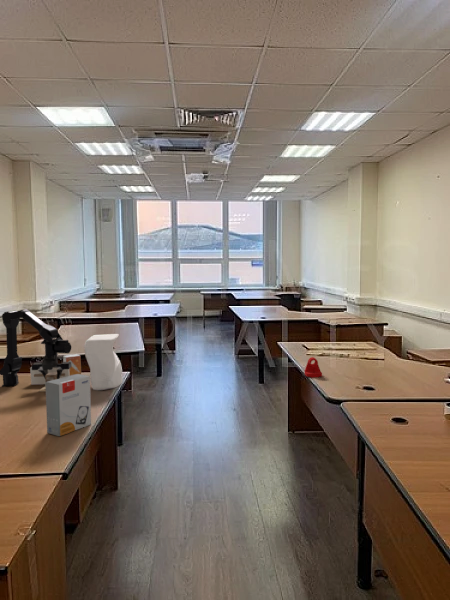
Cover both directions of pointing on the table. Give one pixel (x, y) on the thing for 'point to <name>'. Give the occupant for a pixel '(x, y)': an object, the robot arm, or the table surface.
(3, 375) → the robot arm
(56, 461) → the table surface
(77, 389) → the hard drive box
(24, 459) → the table surface
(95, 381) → the white curved block
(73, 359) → the small box
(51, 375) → the cabinet block
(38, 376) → the white slotted box
